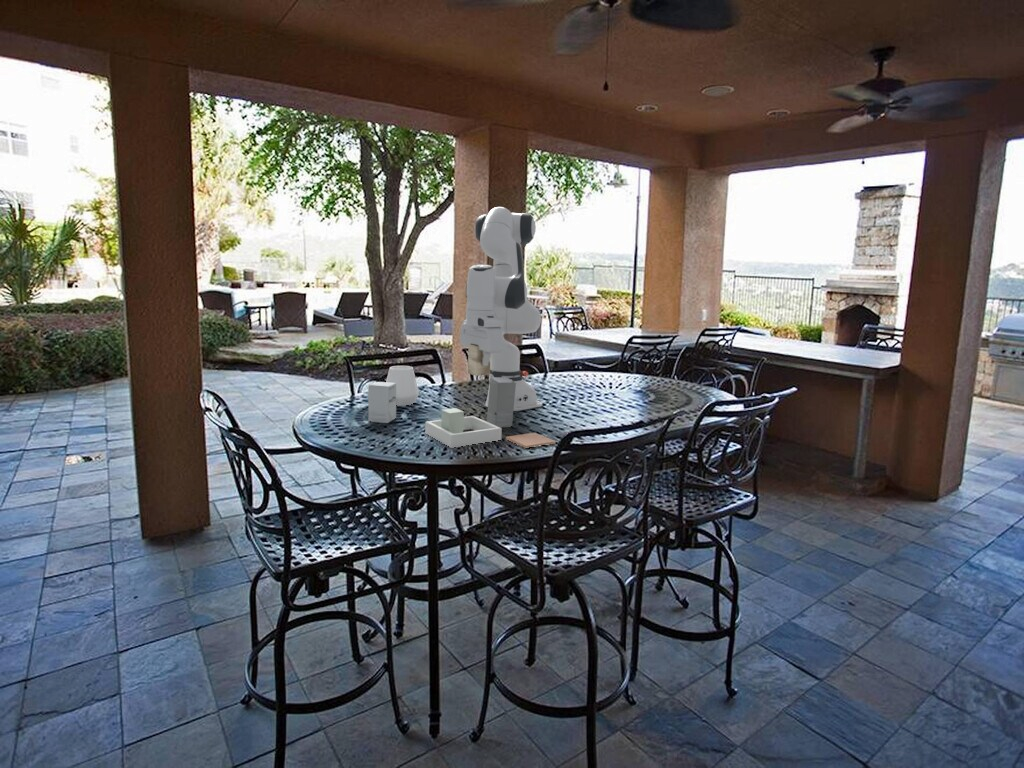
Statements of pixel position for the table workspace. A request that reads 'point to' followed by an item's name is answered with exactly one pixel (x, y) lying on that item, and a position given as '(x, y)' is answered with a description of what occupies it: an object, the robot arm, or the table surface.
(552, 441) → the tile
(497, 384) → the skincare box
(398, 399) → the cup
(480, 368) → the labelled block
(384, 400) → the supplement box
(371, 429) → the table surface
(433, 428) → the bin
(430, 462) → the table surface
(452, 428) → the plain block
